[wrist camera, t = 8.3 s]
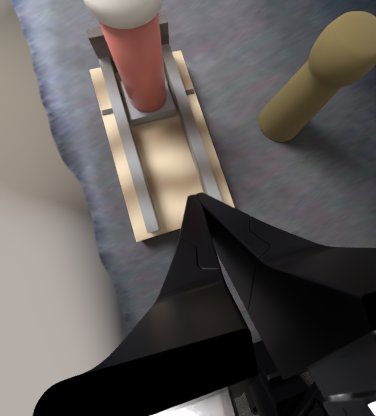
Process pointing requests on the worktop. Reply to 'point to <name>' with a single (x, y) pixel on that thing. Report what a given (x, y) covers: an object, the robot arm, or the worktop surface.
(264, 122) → the cork
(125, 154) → the plug rig
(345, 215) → the worktop surface
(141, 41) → the red plug
